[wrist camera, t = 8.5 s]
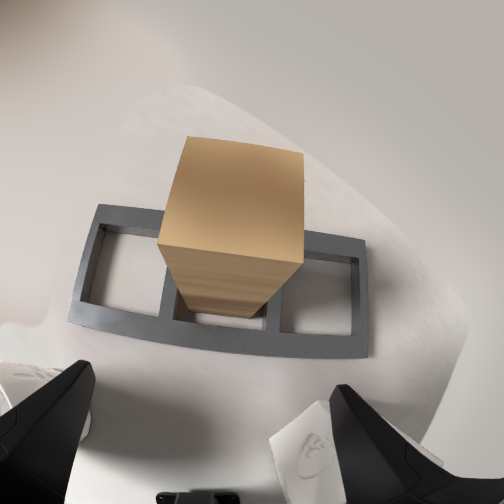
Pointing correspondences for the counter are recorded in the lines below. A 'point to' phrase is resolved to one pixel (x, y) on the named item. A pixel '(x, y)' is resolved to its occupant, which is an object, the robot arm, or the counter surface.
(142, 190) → the counter surface
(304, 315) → the counter surface
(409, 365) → the counter surface
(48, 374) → the white cup
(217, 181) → the oak block
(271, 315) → the rail plate
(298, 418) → the jar
